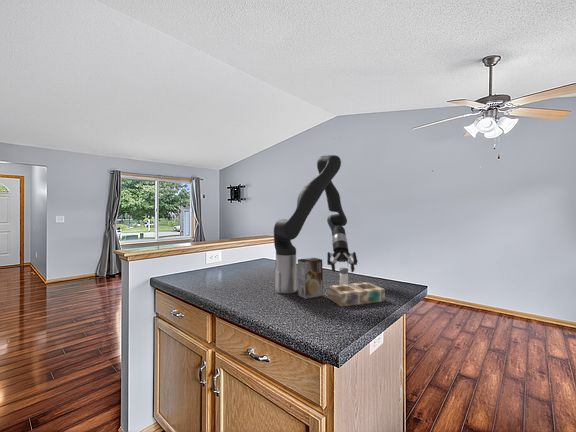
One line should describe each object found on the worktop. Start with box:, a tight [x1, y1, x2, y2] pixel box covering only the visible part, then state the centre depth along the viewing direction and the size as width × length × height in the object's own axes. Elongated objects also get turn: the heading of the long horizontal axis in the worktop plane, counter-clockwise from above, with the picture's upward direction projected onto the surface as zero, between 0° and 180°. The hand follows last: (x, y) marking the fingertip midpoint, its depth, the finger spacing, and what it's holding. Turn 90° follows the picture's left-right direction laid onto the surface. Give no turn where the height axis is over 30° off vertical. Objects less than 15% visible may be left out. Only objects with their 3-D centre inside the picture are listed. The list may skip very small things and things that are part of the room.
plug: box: [339, 267, 349, 285], centre depth 134 cm, size 4×4×10 cm
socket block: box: [327, 281, 386, 307], centre depth 120 cm, size 20×12×5 cm, turn 107°
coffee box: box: [297, 257, 324, 299], centre depth 126 cm, size 9×6×16 cm
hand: (343, 271), depth 136 cm, fingers open, 8 cm apart
